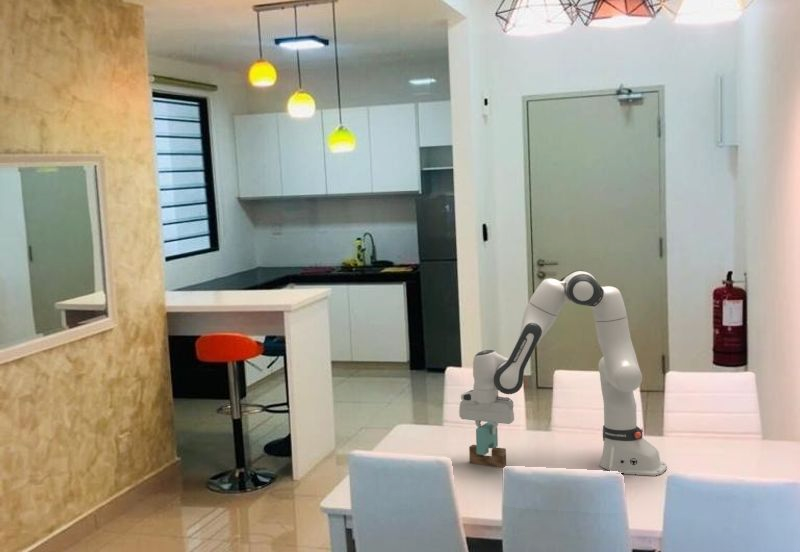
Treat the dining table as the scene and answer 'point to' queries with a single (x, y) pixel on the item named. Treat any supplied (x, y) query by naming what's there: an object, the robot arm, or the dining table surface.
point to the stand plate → (488, 457)
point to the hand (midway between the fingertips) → (487, 433)
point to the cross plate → (486, 438)
